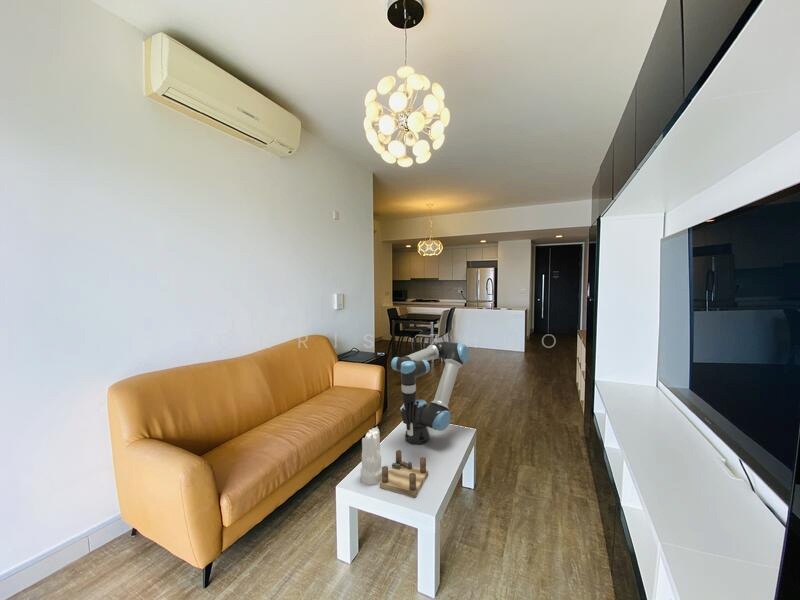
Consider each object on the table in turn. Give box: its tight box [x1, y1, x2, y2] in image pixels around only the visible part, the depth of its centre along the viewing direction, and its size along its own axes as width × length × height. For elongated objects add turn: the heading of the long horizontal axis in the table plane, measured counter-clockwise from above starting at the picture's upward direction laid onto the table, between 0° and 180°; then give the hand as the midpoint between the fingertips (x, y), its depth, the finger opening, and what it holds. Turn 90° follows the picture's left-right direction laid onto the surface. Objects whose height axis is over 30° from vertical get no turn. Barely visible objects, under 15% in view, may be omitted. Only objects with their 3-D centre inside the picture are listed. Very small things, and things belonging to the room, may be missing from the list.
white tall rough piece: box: [360, 426, 383, 486], centre depth 155 cm, size 11×11×25 cm
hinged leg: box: [395, 449, 413, 469], centre depth 161 cm, size 10×3×6 cm, turn 54°
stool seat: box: [379, 456, 429, 498], centre depth 153 cm, size 18×18×9 cm
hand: (410, 434), depth 166 cm, fingers closed
